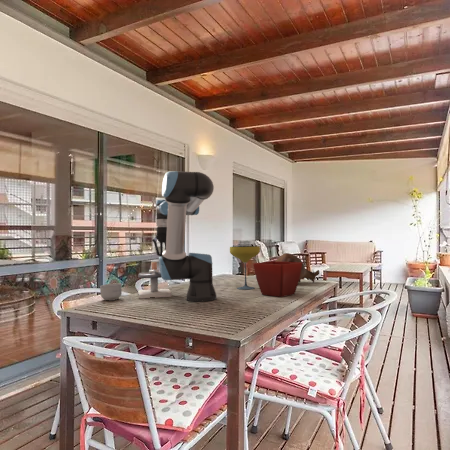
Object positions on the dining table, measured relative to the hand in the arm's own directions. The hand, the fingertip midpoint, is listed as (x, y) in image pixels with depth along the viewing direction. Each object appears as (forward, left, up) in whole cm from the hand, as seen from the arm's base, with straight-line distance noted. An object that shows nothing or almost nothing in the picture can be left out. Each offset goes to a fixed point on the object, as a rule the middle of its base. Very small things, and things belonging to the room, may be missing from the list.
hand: (164, 267), depth 218 cm
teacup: (-11, +28, -15) cm, 34 cm away
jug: (+8, -84, -15) cm, 86 cm away
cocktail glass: (-1, -48, -14) cm, 50 cm away
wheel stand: (-6, +6, -14) cm, 17 cm away
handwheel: (-6, +6, -4) cm, 10 cm away
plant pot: (-31, -57, -15) cm, 67 cm away
